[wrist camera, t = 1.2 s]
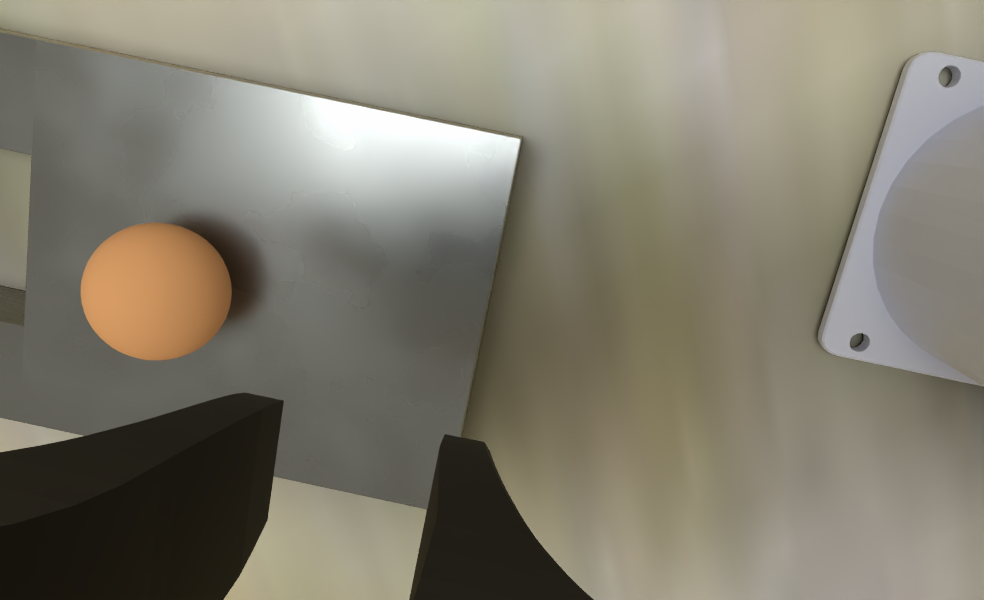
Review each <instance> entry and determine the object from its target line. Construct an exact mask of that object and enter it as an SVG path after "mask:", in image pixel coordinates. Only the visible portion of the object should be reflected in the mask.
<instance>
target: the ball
mask: <svg viewBox="0 0 984 600" xmlns="http://www.w3.org/2000/svg"><path fill="white" fill-rule="evenodd" d="M231 296H232V288H231V280H230V276H229V272H228V270H227V267H226V265H225V263H224V261H223V259H222V258H221V256H220V254H219V253H218V252H217V251H216V249H215V248H214V247H213V246H212V245H211V244H210V243H209V242H208V241H207V240H205V239H204V238H203V237H201V236H200V235H198V234H196V233H195V232H193V231H191V230H188V229H186V228H184V227H181V226H177V225H174V224H167V223H145V224H138V225H134V226H131V227H128V228H126V229H123V230H121V231H119V232H117V233H115V234H114V235H112V236H110V237H109V238H108V239H106V240H105V241H104V242H103V243H102V244H101V245H100V246H99V247H98V248H97V249H96V250H95V252H94V253H93V254H92V256H91V257H90V259H89V260H88V262H87V265H86V267H85V270H84V273H83V276H82V280H81V301H82V306H83V310H84V313H85V315H86V318H87V320H88V322H89V324H90V325H91V327H92V328H93V330H94V331H95V332H96V334H97V335H98V336H99V337H100V338H101V339H102V340H103V341H105V342H106V343H107V344H108V345H110V346H111V347H112V348H114V349H115V350H117V351H119V352H121V353H123V354H126V355H128V356H131V357H135V358H139V359H144V360H170V359H174V358H178V357H182V356H185V355H187V354H190V353H192V352H194V351H195V350H197V349H199V348H201V347H202V346H203V345H205V344H206V343H207V342H208V341H209V340H211V339H212V338H213V337H214V335H215V334H216V333H217V332H218V331H219V329H220V328H221V326H222V325H223V323H224V321H225V319H226V317H227V314H228V311H229V308H230V303H231Z"/></svg>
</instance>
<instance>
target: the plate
mask: <svg viewBox="0 0 984 600" xmlns="http://www.w3.org/2000/svg"><path fill="white" fill-rule="evenodd" d="M522 140H523V136H518V135H513V134H509V133H504V132H499V131H494V130H489V129H484V128H479V127H475V126H470V125H465V124H460V123H455V122H450V121H446V120H441V119H436V118H431V117H426V116H421V115H416V114H412V113H407V112H402V111H397V110H392V109H387V108H382V107H378V106H373V105H368V104H363V103H358V102H353V101H349V100H344V99H339V98H334V97H329V96H324V95H319V94H315V93H310V92H305V91H300V90H295V89H290V88H285V87H281V86H276V85H271V84H266V83H261V82H256V81H252V80H247V79H242V78H237V77H232V76H227V75H222V74H218V73H213V72H208V71H203V70H198V69H193V68H188V67H184V66H179V65H174V64H169V63H164V62H159V61H155V60H150V59H145V58H140V57H135V56H130V55H125V54H121V53H116V52H111V51H106V50H101V49H96V48H91V47H87V46H82V45H77V44H72V43H67V42H62V41H57V40H53V39H48V38H43V37H38V36H33V35H28V34H24V33H19V32H14V31H9V30H4V29H0V148H1V149H6V150H11V151H16V152H21V153H25V154H30V155H32V161H31V184H30V207H29V229H28V252H27V275H26V291H22V290H17V289H12V288H7V287H3V286H0V418H5V419H9V420H14V421H19V422H23V423H28V424H32V425H37V426H42V427H46V428H51V429H56V430H60V431H65V432H70V433H74V434H79V435H84V436H87V435H90V434H94V433H98V432H102V431H106V430H109V429H113V428H117V427H121V426H125V425H128V424H132V423H136V422H140V421H143V420H147V419H150V418H153V417H157V416H160V415H163V414H166V413H170V412H173V411H176V410H180V409H183V408H186V407H189V406H193V405H196V404H199V403H202V402H206V401H209V400H212V399H216V398H220V397H223V396H227V395H231V394H236V393H244V392H245V393H250V394H255V395H260V396H265V397H269V398H274V399H279V400H284V404H283V411H282V418H281V425H280V433H279V440H278V447H277V454H276V461H275V468H274V477H279V478H284V479H288V480H293V481H298V482H302V483H307V484H312V485H316V486H321V487H326V488H330V489H335V490H339V491H344V492H349V493H353V494H358V495H363V496H367V497H372V498H377V499H381V500H386V501H391V502H395V503H400V504H405V505H409V506H414V507H419V508H423V509H427V508H428V503H429V498H430V493H431V488H432V483H433V478H434V473H435V468H436V462H437V457H438V452H439V447H440V444H441V442H442V439H443V437H444V435H445V434H447V435H452V436H457V437H461V438H462V433H463V428H464V423H465V419H466V414H467V409H468V404H469V399H470V394H471V389H472V384H473V379H474V375H475V370H476V365H477V360H478V355H479V350H480V345H481V340H482V336H483V331H484V326H485V321H486V316H487V311H488V306H489V301H490V296H491V292H492V287H493V282H494V277H495V272H496V267H497V262H498V257H499V253H500V248H501V243H502V238H503V233H504V228H505V223H506V218H507V213H508V209H509V204H510V199H511V194H512V189H513V184H514V179H515V174H516V170H517V165H518V160H519V155H520V150H521V145H522ZM145 223H167V224H174V225H177V226H181V227H184V228H186V229H188V230H191V231H193V232H195V233H196V234H198V235H200V236H201V237H203V238H204V239H205V240H207V241H208V242H209V243H210V244H211V245H212V246H213V247H214V248H215V249H216V251H217V252H218V253H219V254H220V256H221V258H222V259H223V261H224V263H225V265H226V267H227V270H228V272H229V276H230V280H231V288H232V296H231V303H230V308H229V311H228V314H227V317H226V319H225V321H224V323H223V325H222V326H221V328H220V329H219V331H218V332H217V333H216V334H215V335H214V337H213V338H212V339H211V340H209V341H208V342H207V343H206V344H205V345H203V346H202V347H201V348H199V349H197V350H195V351H194V352H192V353H190V354H187V355H185V356H182V357H178V358H174V359H170V360H144V359H139V358H135V357H131V356H128V355H126V354H123V353H121V352H119V351H117V350H115V349H114V348H112V347H111V346H110V345H108V344H107V343H106V342H105V341H103V340H102V339H101V338H100V337H99V336H98V335H97V334H96V332H95V331H94V330H93V328H92V327H91V325H90V324H89V322H88V320H87V318H86V315H85V313H84V310H83V306H82V301H81V280H82V276H83V273H84V270H85V267H86V265H87V262H88V260H89V259H90V257H91V256H92V254H93V253H94V252H95V250H96V249H97V248H98V247H99V246H100V245H101V244H102V243H103V242H104V241H105V240H106V239H108V238H109V237H110V236H112V235H114V234H115V233H117V232H119V231H121V230H123V229H126V228H128V227H131V226H134V225H138V224H145Z"/></svg>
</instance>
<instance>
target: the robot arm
mask: <svg viewBox="0 0 984 600" xmlns="http://www.w3.org/2000/svg"><path fill="white" fill-rule="evenodd" d="M945 67H947V68H949V69H950V70H951V72H952V80H951V82H950V83H949V85H947V86H946V87H944V86H942V85H941V84H940V82H939V81H938V78H939V73H940V72H941V70H942V69H943V68H945ZM857 333H863V335H864V340H863V342H862V343H861V345H859V346H857V347H850V339H851V338H852V336H854V335H855V334H857ZM818 340H819V343H820V345H821V346H822V347H823V348H824V349H825V350H826V351H827V352H828V353H830V354H833V355H835V356H840V357H845V358H850V359H855V360H859V361H864V362H869V363H874V364H878V365H883V366H888V367H893V368H897V369H902V370H907V371H912V372H917V373H921V374H926V375H931V376H936V377H940V378H945V379H950V380H955V381H959V382H964V383H969V384H974V385H979V386H983V387H984V61H979V60H974V59H969V58H964V57H959V56H954V55H949V54H944V53H939V52H923V53H919V54H917V55H914V56H913V57H912V58H911V59H909V60H908V61H907V63H906V64H905V66H904V68H903V70H902V74H901V77H900V80H899V83H898V86H897V89H896V92H895V95H894V98H893V102H892V105H891V108H890V111H889V114H888V117H887V120H886V123H885V126H884V129H883V133H882V136H881V139H880V142H879V145H878V148H877V151H876V154H875V157H874V160H873V164H872V167H871V170H870V173H869V176H868V179H867V182H866V185H865V188H864V192H863V195H862V198H861V201H860V204H859V207H858V210H857V213H856V216H855V219H854V223H853V226H852V229H851V232H850V235H849V238H848V241H847V244H846V247H845V251H844V254H843V257H842V260H841V263H840V266H839V269H838V272H837V275H836V278H835V282H834V285H833V288H832V291H831V294H830V297H829V300H828V303H827V306H826V309H825V313H824V316H823V319H822V322H821V325H820V328H819V331H818ZM283 404H284V400H279V399H274V398H269V397H265V396H260V395H255V394H250V393H245V392H244V393H236V394H231V395H227V396H223V397H220V398H216V399H212V400H209V401H206V402H202V403H199V404H196V405H193V406H189V407H186V408H183V409H180V410H176V411H173V412H170V413H166V414H163V415H160V416H157V417H153V418H150V419H147V420H143V421H140V422H136V423H132V424H128V425H125V426H121V427H117V428H113V429H109V430H106V431H102V432H98V433H94V434H90V435H87V436H83V437H79V438H74V439H70V440H65V441H61V442H56V443H51V444H46V445H41V446H35V447H29V448H23V449H18V450H12V451H6V452H0V600H223V599H224V598H225V596H226V595H227V594H228V592H229V591H230V589H231V588H232V586H233V585H234V583H235V582H236V580H237V579H238V577H239V576H240V574H241V572H242V570H243V568H244V566H245V564H246V562H247V560H248V559H249V557H250V555H251V553H252V551H253V549H254V547H255V545H256V543H257V541H258V538H259V536H260V534H261V532H262V530H263V528H264V526H265V524H266V522H267V519H268V511H269V504H270V497H271V490H272V483H273V476H274V468H275V461H276V454H277V447H278V440H279V433H280V425H281V418H282V411H283ZM409 600H593V599H592V598H591V597H590V596H589V595H588V594H587V593H585V592H584V591H583V590H582V589H581V588H580V587H579V586H578V585H577V584H576V583H575V582H574V581H573V580H572V579H571V578H570V577H569V576H568V575H567V574H566V573H565V572H564V571H563V570H562V568H561V567H560V566H559V565H558V564H557V563H556V562H555V561H554V559H553V558H552V557H551V556H550V555H549V554H548V553H547V552H546V550H545V549H544V548H543V547H542V545H541V544H540V543H539V542H538V540H537V539H536V538H535V536H534V535H533V533H532V532H531V531H530V529H529V528H528V526H527V525H526V523H525V522H524V520H523V518H522V517H521V515H520V513H519V512H518V510H517V508H516V506H515V505H514V503H513V501H512V499H511V497H510V496H509V494H508V492H507V490H506V488H505V486H504V484H503V482H502V480H501V478H500V476H499V473H498V471H497V469H496V467H495V464H494V462H493V459H492V456H491V453H490V450H489V449H488V447H487V446H486V444H485V442H481V441H476V440H471V439H466V438H461V437H457V436H452V435H447V434H445V435H444V437H443V439H442V442H441V444H440V447H439V452H438V457H437V462H436V468H435V473H434V478H433V483H432V488H431V493H430V498H429V503H428V508H427V513H426V518H425V523H424V528H423V533H422V538H421V543H420V548H419V554H418V559H417V564H416V569H415V574H414V579H413V584H412V589H411V594H410V599H409Z"/></svg>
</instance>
